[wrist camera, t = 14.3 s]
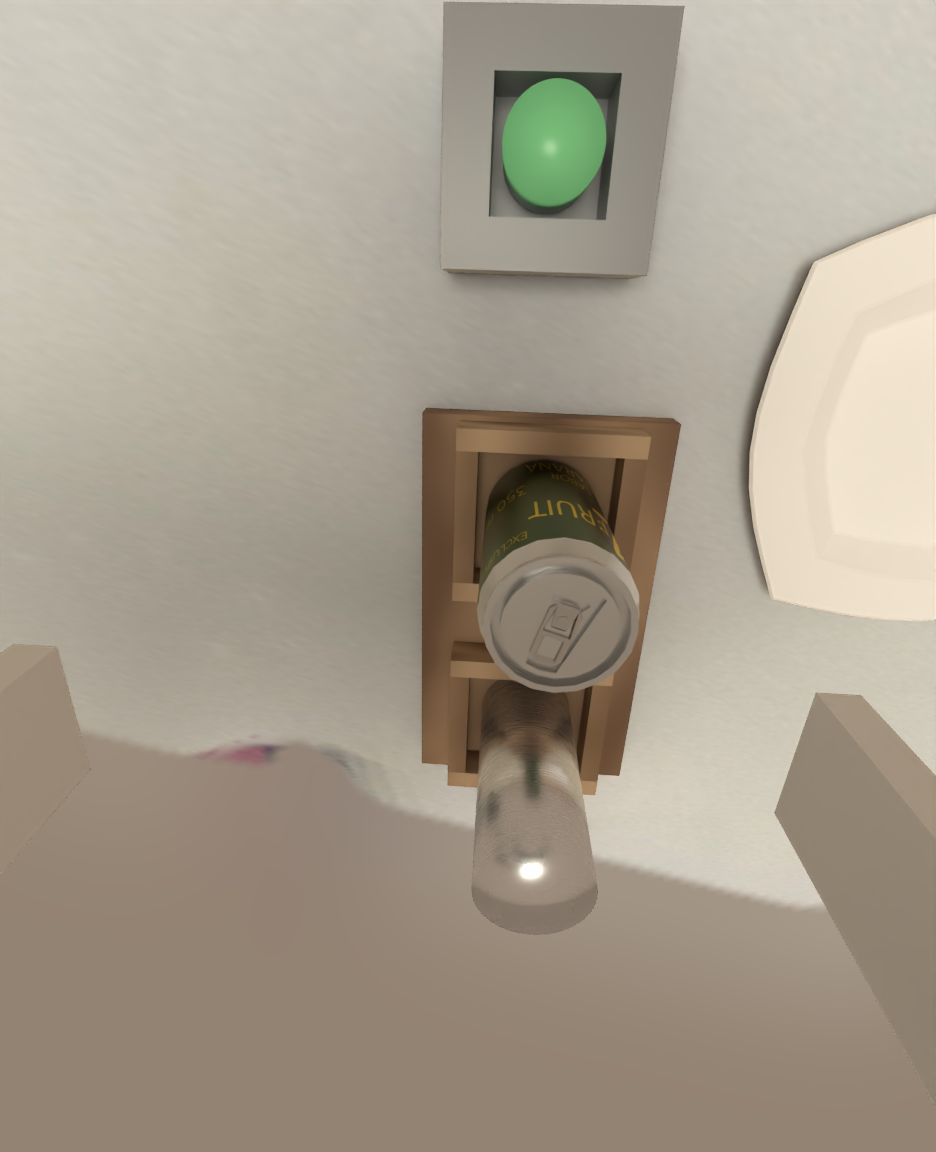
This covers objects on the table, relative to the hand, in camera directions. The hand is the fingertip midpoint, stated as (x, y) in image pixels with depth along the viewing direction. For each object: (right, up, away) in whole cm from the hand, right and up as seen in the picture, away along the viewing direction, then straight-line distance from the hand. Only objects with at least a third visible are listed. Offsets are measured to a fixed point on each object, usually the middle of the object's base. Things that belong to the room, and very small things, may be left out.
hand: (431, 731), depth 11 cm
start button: (+4, +19, +13) cm, 23 cm away
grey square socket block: (+4, +20, +15) cm, 25 cm away
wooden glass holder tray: (+4, +1, +23) cm, 24 cm away
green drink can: (+4, +6, +20) cm, 21 cm away
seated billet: (+4, -5, +24) cm, 25 cm away
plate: (+24, +10, +19) cm, 32 cm away
